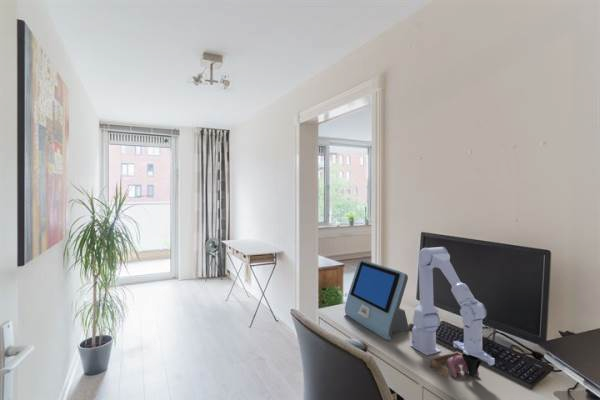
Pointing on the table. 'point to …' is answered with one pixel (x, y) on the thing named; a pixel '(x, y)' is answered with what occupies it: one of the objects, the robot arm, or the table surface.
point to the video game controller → (454, 363)
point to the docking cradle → (442, 363)
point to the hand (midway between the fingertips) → (472, 375)
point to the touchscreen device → (377, 299)
